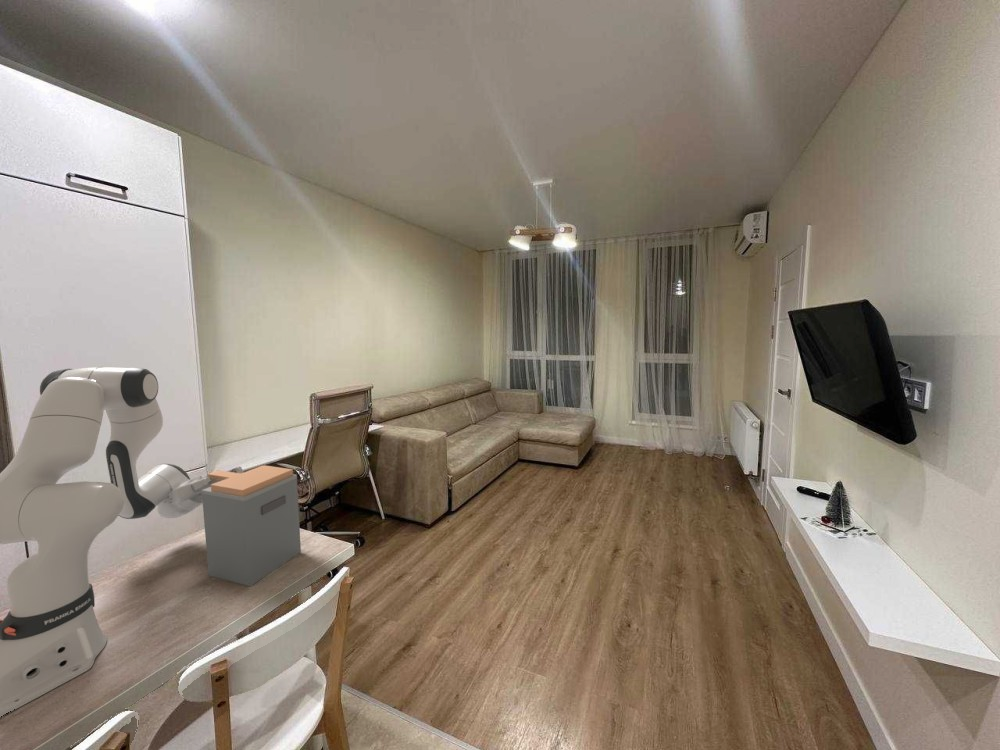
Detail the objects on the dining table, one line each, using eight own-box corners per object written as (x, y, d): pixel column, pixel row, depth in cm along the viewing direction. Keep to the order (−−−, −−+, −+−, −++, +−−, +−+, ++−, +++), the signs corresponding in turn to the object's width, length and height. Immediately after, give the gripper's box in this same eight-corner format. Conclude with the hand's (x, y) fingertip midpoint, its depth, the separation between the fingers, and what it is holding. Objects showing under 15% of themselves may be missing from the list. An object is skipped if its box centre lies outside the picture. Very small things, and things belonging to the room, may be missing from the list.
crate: (251, 586, 108) (245, 497, 105) (208, 575, 113) (201, 490, 110) (301, 552, 125) (297, 474, 122) (262, 543, 130) (258, 469, 127)
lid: (242, 496, 106) (242, 490, 106) (183, 485, 113) (183, 480, 113) (293, 474, 122) (292, 469, 122) (238, 466, 129) (238, 461, 129)
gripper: (156, 495, 114) (182, 477, 110) (224, 471, 133) (248, 455, 129) (165, 514, 114) (192, 497, 109) (231, 488, 133) (257, 472, 129)
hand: (223, 474), depth 119 cm, fingers open, 8 cm apart
